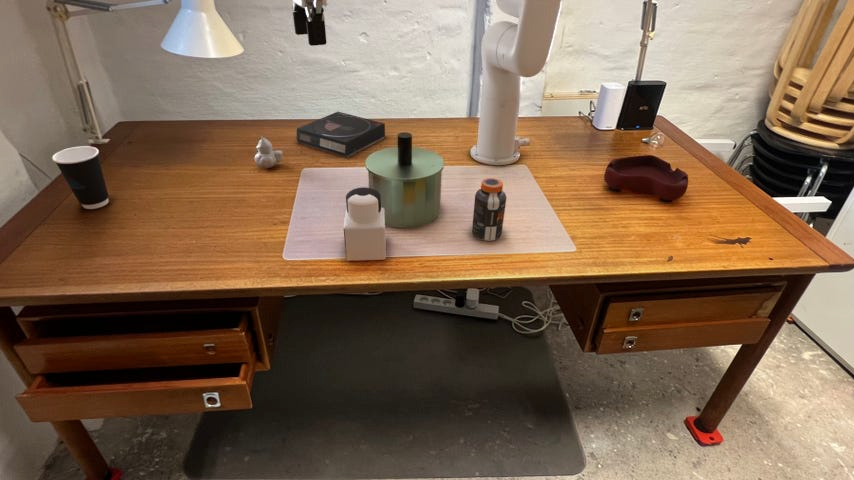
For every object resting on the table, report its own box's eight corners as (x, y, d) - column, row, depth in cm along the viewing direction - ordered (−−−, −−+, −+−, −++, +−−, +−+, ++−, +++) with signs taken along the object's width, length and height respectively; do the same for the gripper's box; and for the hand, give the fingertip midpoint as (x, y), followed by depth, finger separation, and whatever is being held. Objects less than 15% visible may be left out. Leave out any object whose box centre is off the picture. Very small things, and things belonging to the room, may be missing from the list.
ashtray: (685, 180, 123) (691, 161, 120) (681, 210, 111) (688, 189, 108) (609, 165, 129) (614, 147, 126) (598, 192, 116) (603, 172, 114)
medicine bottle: (348, 240, 97) (343, 183, 90) (385, 239, 98) (383, 182, 91) (346, 261, 92) (341, 202, 84) (385, 260, 92) (383, 201, 85)
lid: (423, 147, 110) (423, 116, 106) (457, 176, 99) (459, 143, 95) (354, 158, 104) (352, 127, 100) (383, 190, 93) (382, 156, 89)
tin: (421, 189, 115) (422, 145, 109) (451, 219, 105) (454, 172, 99) (360, 202, 110) (357, 156, 104) (386, 234, 99) (384, 186, 93)
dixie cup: (117, 191, 111) (99, 143, 104) (116, 208, 105) (97, 158, 98) (75, 198, 108) (53, 149, 101) (72, 215, 102) (49, 164, 95)
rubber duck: (257, 162, 125) (251, 130, 120) (285, 161, 126) (280, 130, 121) (255, 171, 120) (248, 139, 116) (283, 170, 121) (278, 138, 117)
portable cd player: (297, 143, 135) (295, 129, 132) (339, 125, 147) (337, 111, 144) (345, 158, 128) (344, 143, 126) (385, 137, 140) (384, 123, 138)
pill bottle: (500, 243, 98) (506, 190, 91) (469, 239, 99) (474, 187, 92) (502, 228, 102) (509, 176, 96) (473, 224, 103) (478, 173, 97)
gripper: (335, -66, 82) (343, 47, 92) (307, -72, 94) (316, 29, 104) (289, -66, 79) (302, 51, 89) (266, -72, 91) (280, 31, 101)
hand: (310, 39), depth 97 cm, fingers open, 9 cm apart
